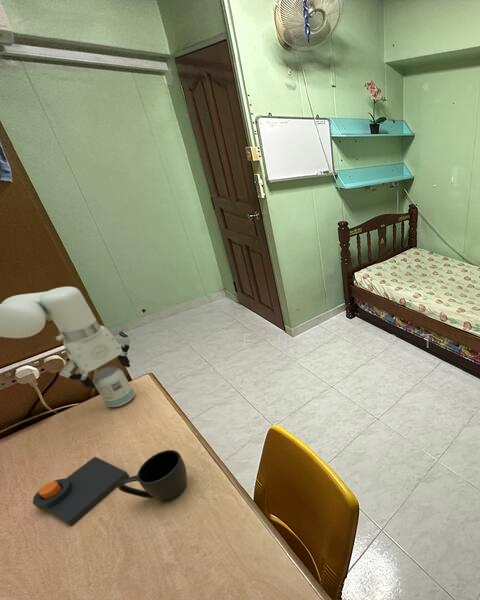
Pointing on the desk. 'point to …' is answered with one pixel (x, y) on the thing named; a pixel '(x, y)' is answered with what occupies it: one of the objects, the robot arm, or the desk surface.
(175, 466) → the mug
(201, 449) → the desk surface
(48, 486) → the button
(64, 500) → the scale
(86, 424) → the desk surface
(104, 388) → the white supplement bottle
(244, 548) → the desk surface
